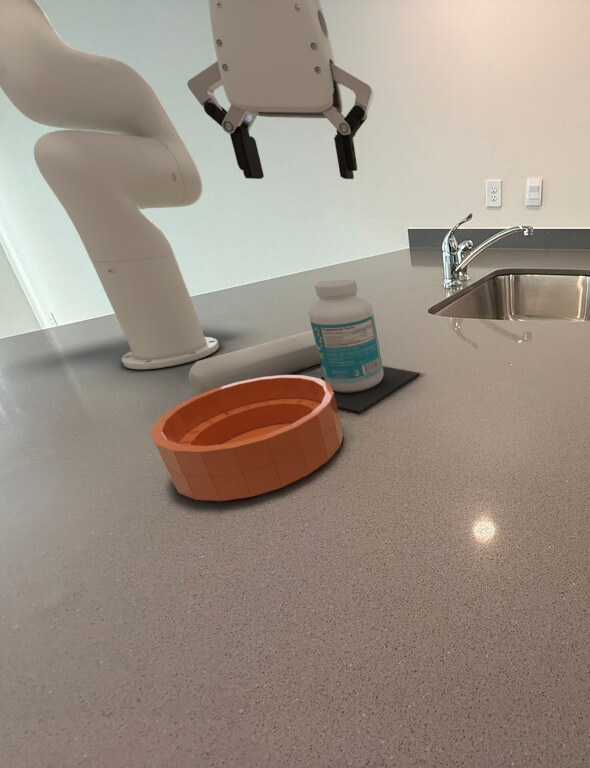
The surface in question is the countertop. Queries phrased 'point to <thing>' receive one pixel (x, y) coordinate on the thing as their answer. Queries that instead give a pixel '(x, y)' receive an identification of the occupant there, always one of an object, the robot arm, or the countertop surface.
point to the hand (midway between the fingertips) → (301, 178)
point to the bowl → (248, 436)
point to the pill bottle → (345, 336)
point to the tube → (255, 362)
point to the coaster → (374, 391)
